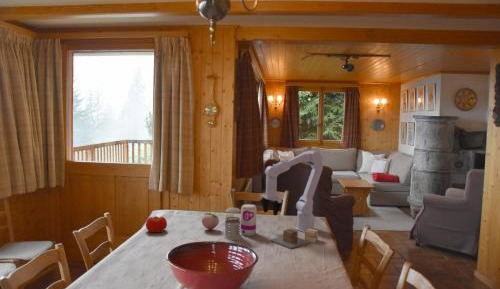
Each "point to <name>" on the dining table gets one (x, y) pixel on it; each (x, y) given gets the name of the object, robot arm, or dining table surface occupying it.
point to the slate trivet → (290, 245)
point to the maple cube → (311, 235)
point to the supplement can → (248, 219)
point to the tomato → (156, 224)
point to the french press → (232, 224)
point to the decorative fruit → (210, 221)
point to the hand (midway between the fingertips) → (270, 213)
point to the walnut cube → (290, 235)
